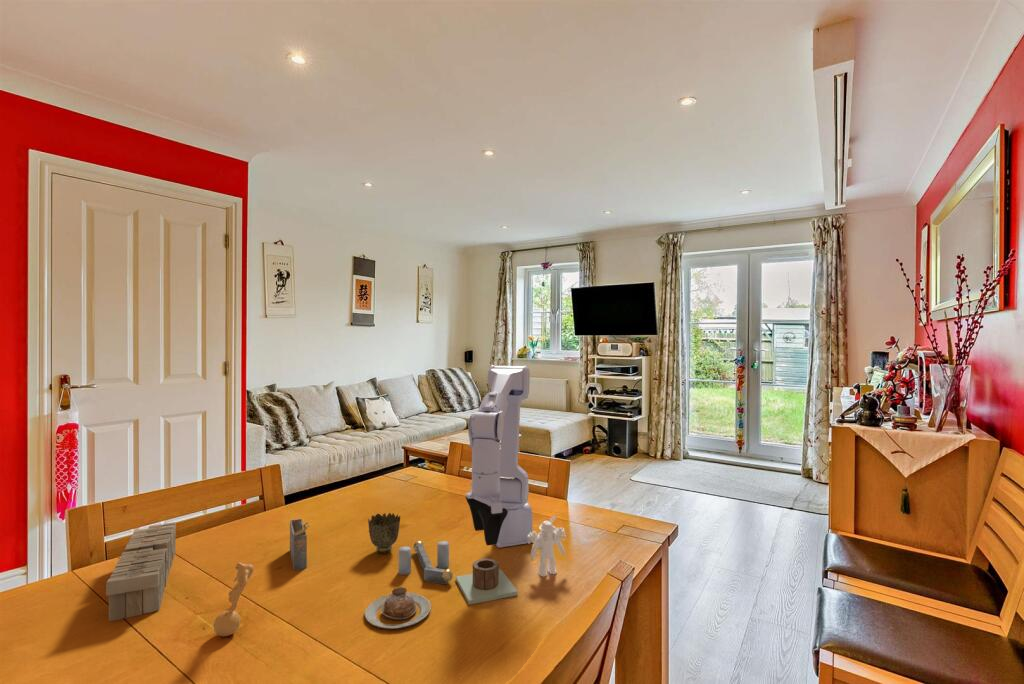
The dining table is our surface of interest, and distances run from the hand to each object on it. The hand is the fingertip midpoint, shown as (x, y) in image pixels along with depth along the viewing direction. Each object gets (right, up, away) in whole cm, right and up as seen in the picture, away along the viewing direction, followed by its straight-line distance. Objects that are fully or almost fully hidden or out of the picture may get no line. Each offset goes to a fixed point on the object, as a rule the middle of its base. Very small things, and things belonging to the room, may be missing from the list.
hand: (485, 536), depth 101 cm
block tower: (-70, -10, 0) cm, 71 cm away
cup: (-25, -10, +16) cm, 32 cm away
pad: (0, -10, 0) cm, 10 cm away
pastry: (-16, -11, -9) cm, 21 cm away
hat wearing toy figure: (+13, -11, +6) cm, 18 cm away
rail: (-12, -10, +9) cm, 18 cm away
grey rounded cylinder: (-18, -10, +6) cm, 22 cm away
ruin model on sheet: (-44, -11, +12) cm, 47 cm away
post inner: (-10, -10, +9) cm, 17 cm away
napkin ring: (0, -10, 0) cm, 10 cm away
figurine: (-43, -11, -16) cm, 47 cm away
